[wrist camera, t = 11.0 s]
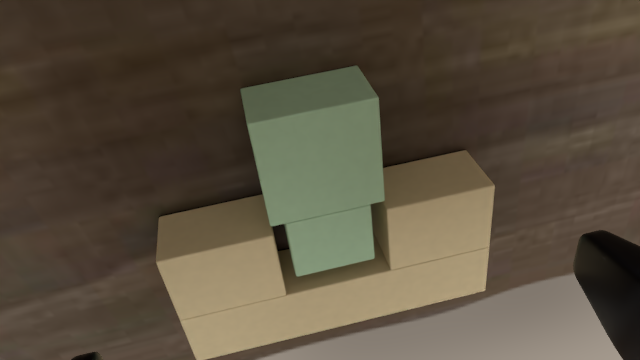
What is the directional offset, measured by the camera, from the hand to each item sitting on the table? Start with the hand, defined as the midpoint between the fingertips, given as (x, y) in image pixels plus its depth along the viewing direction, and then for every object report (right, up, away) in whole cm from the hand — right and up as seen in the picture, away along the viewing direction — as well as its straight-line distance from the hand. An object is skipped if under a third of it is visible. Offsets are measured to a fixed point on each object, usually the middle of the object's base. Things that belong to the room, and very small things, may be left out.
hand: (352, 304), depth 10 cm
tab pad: (-1, +3, +10) cm, 10 cm away
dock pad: (0, 0, +12) cm, 12 cm away
